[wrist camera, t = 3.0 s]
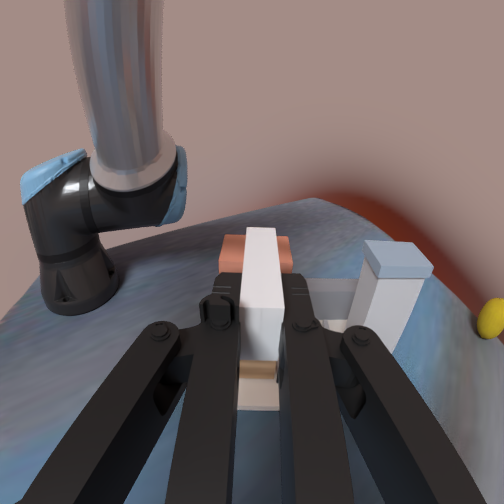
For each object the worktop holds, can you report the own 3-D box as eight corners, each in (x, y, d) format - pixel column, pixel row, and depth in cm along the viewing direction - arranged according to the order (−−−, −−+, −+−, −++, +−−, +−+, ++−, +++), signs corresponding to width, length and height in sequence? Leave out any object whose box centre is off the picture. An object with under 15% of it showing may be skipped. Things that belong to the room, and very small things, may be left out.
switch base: (399, 399, 27) (420, 368, 24) (207, 407, 27) (201, 376, 24) (363, 306, 42) (372, 274, 39) (223, 303, 42) (222, 270, 40)
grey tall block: (384, 374, 29) (433, 266, 21) (341, 379, 29) (381, 265, 21) (374, 347, 33) (412, 242, 25) (334, 350, 33) (364, 240, 25)
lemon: (490, 353, 30) (514, 314, 26) (466, 338, 34) (488, 298, 30) (495, 336, 33) (516, 299, 29) (473, 322, 37) (492, 284, 33)
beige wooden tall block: (276, 381, 29) (292, 263, 21) (225, 379, 29) (218, 260, 21) (275, 350, 33) (287, 236, 25) (228, 349, 33) (225, 234, 26)
